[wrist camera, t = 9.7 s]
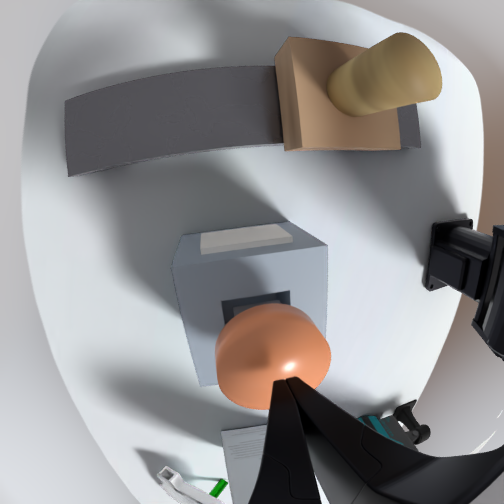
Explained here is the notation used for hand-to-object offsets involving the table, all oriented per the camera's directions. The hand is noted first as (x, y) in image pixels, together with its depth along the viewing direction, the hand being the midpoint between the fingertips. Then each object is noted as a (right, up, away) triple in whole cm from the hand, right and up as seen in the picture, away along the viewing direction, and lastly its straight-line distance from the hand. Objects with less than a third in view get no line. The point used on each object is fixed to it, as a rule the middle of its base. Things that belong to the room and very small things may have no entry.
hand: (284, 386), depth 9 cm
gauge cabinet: (-2, +3, +10) cm, 10 cm away
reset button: (-1, +1, +4) cm, 5 cm away
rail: (-1, +14, +7) cm, 15 cm away
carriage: (+3, +14, +6) cm, 15 cm away
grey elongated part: (-8, -26, +18) cm, 32 cm away
